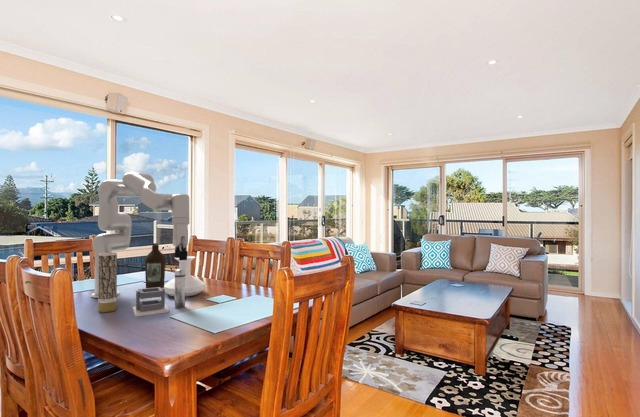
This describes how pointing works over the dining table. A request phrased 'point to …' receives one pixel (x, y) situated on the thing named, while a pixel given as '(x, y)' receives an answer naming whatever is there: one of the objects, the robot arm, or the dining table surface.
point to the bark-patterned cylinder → (107, 282)
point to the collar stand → (150, 302)
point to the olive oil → (155, 268)
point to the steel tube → (179, 288)
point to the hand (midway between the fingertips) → (180, 258)
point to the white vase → (186, 280)
